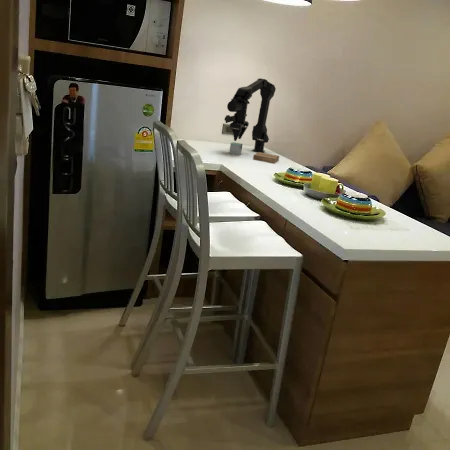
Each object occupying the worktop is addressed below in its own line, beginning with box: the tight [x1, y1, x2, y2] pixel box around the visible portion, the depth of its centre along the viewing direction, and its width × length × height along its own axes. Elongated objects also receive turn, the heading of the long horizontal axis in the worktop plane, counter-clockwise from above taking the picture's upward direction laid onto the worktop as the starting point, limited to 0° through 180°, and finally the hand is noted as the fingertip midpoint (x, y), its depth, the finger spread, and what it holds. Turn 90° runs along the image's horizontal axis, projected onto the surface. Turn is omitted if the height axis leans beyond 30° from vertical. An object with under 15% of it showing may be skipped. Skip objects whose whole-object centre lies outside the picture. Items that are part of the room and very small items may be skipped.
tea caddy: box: [228, 141, 243, 157], centre depth 291 cm, size 6×6×6 cm
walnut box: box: [252, 152, 280, 164], centre depth 287 cm, size 12×12×3 cm
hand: (237, 139), depth 289 cm, fingers open, 9 cm apart
